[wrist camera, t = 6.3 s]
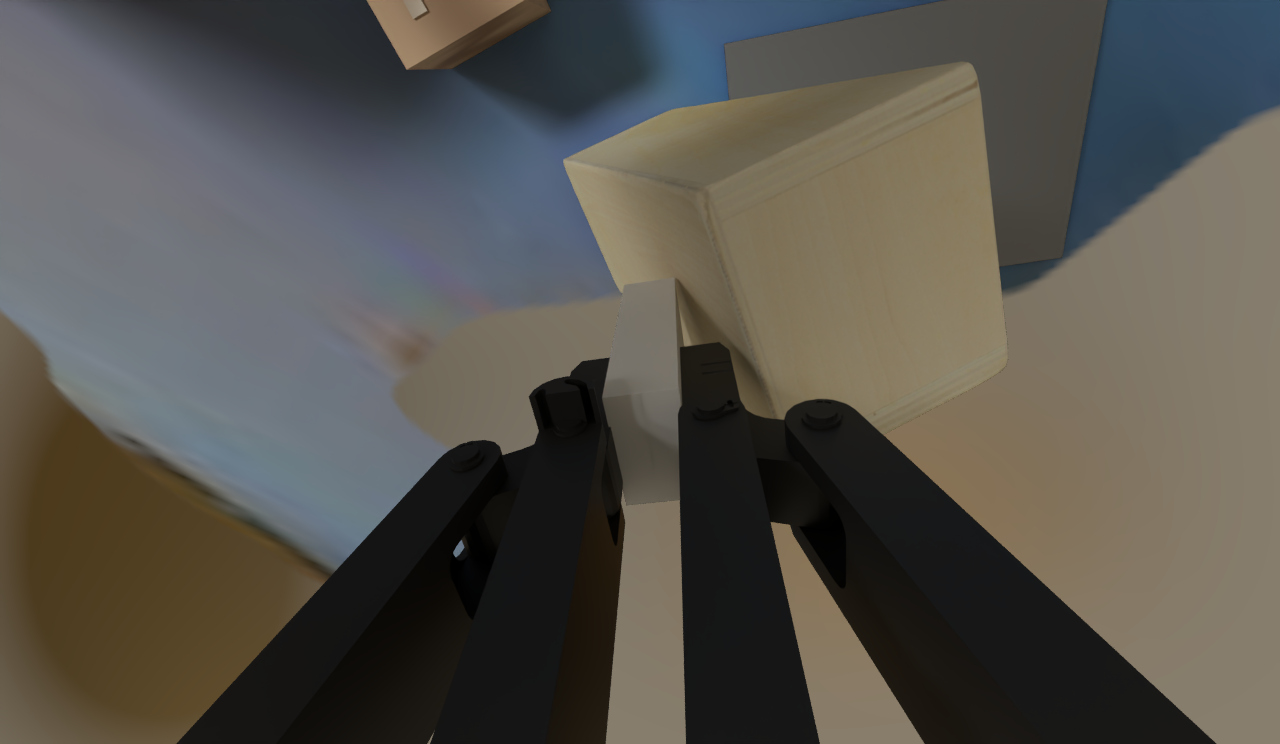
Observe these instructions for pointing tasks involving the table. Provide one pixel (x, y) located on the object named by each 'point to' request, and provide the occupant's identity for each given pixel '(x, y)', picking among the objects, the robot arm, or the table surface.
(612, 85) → the table surface
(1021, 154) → the mat
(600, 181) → the light wooden block
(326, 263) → the table surface
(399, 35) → the letter cube
